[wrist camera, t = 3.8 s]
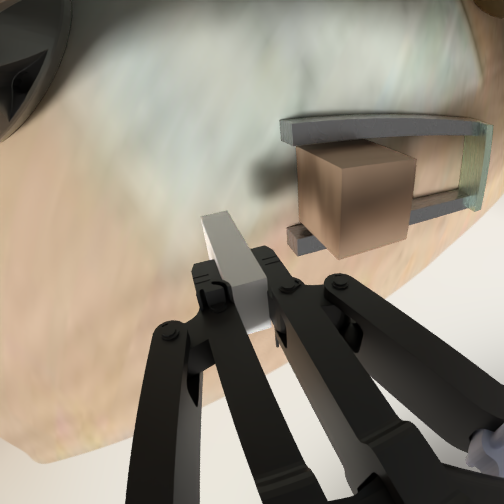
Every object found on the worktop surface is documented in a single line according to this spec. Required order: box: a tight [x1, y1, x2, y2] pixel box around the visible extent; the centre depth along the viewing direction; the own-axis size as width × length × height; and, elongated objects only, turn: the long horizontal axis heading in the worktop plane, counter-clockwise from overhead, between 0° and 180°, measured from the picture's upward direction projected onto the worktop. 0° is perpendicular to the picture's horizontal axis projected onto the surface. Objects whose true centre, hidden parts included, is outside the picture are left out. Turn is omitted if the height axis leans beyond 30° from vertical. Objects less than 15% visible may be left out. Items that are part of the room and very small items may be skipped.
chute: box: [280, 114, 493, 256], centre depth 23 cm, size 10×24×3 cm, turn 96°
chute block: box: [296, 139, 417, 260], centre depth 20 cm, size 6×6×6 cm
